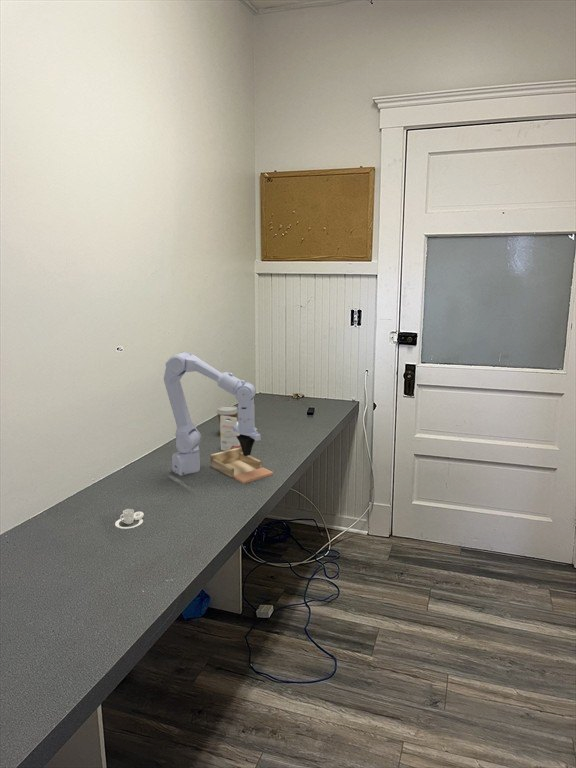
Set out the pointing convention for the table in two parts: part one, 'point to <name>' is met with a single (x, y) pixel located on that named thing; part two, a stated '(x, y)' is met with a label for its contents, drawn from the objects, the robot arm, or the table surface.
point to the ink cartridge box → (228, 433)
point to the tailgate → (253, 475)
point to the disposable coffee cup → (227, 411)
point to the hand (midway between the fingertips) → (246, 455)
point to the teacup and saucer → (130, 518)
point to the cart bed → (234, 462)
